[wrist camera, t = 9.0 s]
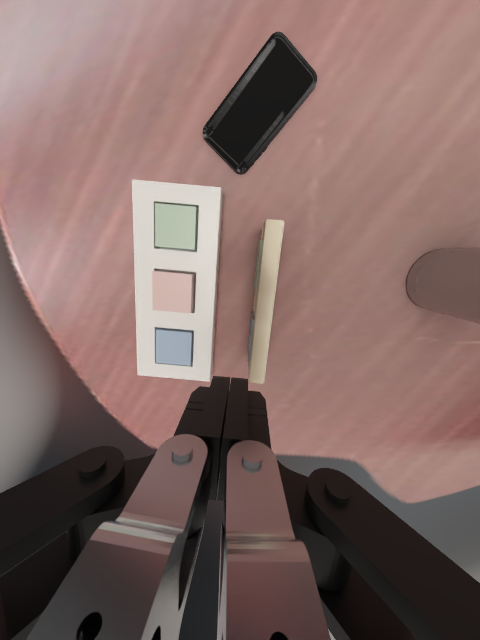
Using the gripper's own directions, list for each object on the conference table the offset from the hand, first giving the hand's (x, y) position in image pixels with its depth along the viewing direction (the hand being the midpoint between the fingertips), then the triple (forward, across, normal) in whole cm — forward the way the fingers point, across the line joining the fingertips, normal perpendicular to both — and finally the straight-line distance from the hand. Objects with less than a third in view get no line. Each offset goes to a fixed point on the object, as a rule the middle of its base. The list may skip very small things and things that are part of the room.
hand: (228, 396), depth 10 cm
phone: (+29, 0, -25) cm, 39 cm away
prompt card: (+29, -3, 0) cm, 29 cm away
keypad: (+28, +10, 0) cm, 30 cm away
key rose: (+27, +10, 0) cm, 29 cm away
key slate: (+28, +10, +9) cm, 31 cm away
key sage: (+28, +10, -9) cm, 31 cm away
